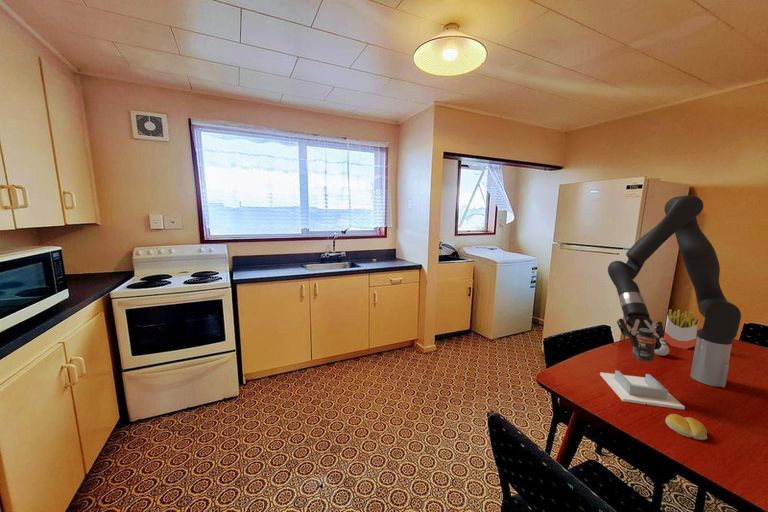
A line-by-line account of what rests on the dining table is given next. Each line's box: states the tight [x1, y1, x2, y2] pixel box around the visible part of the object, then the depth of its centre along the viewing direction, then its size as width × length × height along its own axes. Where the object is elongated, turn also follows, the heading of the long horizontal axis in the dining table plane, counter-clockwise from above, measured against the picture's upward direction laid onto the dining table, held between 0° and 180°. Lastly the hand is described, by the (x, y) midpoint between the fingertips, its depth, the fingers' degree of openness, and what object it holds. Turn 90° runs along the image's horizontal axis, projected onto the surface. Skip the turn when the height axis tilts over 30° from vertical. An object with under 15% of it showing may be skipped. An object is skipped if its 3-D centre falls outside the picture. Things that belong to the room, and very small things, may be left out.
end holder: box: [599, 369, 686, 411], centre depth 111 cm, size 18×18×4 cm
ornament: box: [654, 337, 670, 356], centre depth 139 cm, size 6×7×10 cm
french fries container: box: [663, 309, 699, 350], centre depth 147 cm, size 5×11×18 cm, turn 47°
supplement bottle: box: [632, 328, 656, 363], centre depth 109 cm, size 6×6×11 cm
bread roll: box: [665, 413, 708, 441], centre depth 91 cm, size 8×9×4 cm
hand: (647, 347), depth 107 cm, fingers closed on supplement bottle, 6 cm apart
